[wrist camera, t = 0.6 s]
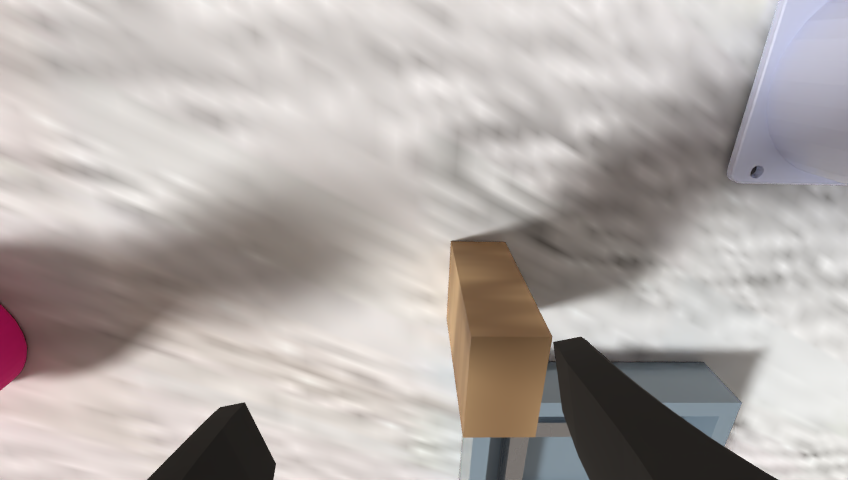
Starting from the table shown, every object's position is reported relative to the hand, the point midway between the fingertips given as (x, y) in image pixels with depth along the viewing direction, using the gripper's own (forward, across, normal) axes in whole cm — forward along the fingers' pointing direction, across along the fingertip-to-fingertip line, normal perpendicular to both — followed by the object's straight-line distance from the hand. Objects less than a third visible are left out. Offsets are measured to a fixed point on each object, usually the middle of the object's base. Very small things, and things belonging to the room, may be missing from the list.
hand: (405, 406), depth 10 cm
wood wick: (+10, -2, +3) cm, 11 cm away
